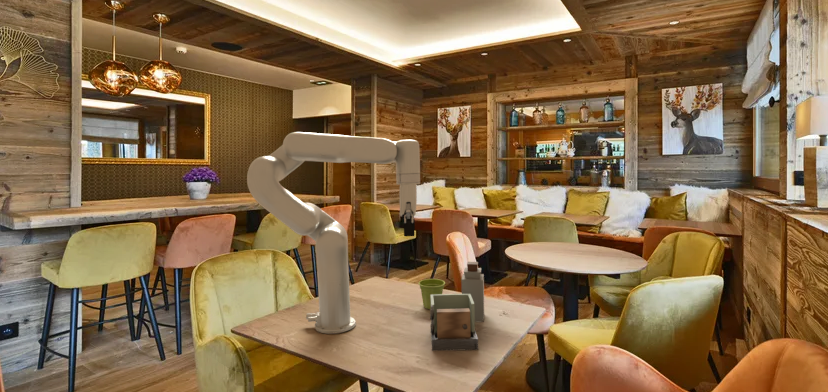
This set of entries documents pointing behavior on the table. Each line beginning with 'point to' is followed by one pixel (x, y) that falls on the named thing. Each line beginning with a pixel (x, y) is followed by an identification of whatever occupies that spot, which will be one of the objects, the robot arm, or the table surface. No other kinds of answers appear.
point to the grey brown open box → (452, 340)
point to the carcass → (453, 305)
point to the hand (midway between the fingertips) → (409, 233)
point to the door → (453, 323)
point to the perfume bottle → (474, 288)
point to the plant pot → (430, 290)
